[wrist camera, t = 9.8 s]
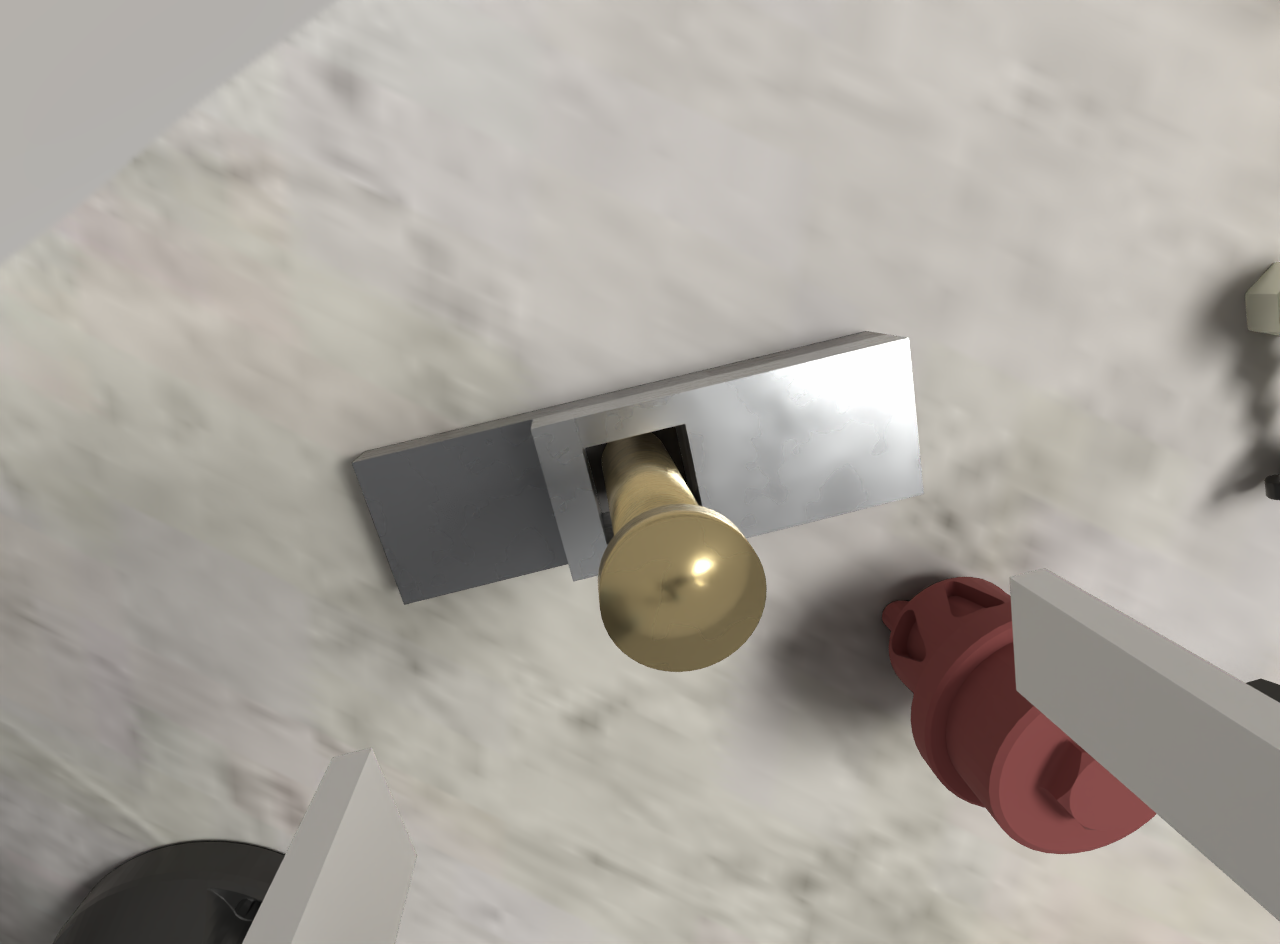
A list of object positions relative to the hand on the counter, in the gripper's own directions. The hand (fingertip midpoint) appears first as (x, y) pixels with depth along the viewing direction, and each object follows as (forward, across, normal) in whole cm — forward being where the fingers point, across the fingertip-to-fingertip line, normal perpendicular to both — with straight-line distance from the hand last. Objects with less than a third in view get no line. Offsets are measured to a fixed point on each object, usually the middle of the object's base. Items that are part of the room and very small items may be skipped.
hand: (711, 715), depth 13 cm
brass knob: (+19, +1, 0) cm, 19 cm away
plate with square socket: (+19, +1, 0) cm, 19 cm away
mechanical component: (+19, +15, -13) cm, 27 cm away
